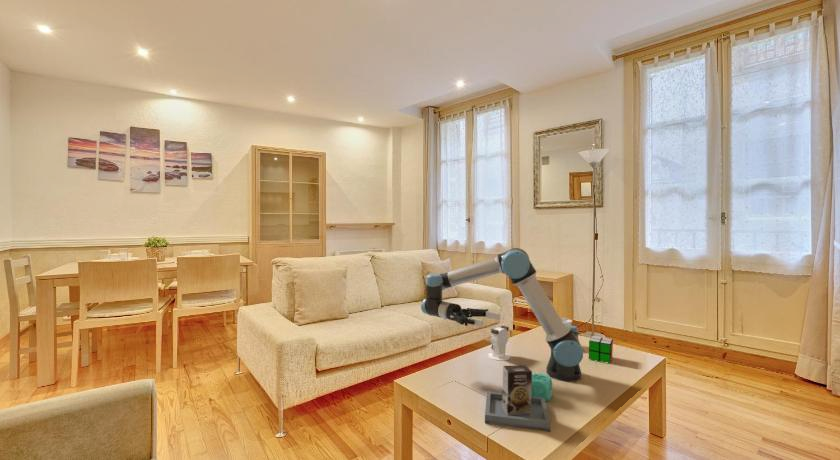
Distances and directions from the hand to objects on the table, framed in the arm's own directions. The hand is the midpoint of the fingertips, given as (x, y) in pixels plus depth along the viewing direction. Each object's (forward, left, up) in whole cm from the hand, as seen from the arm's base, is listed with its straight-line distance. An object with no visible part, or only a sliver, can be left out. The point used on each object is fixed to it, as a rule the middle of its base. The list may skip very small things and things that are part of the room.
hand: (491, 320), depth 156 cm
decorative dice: (-20, +1, -30) cm, 36 cm away
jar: (-38, -64, -30) cm, 80 cm away
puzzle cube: (-55, -49, -30) cm, 80 cm away
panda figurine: (-4, -39, -30) cm, 49 cm away
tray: (-10, +17, -30) cm, 36 cm away
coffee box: (-10, +17, -29) cm, 35 cm away
